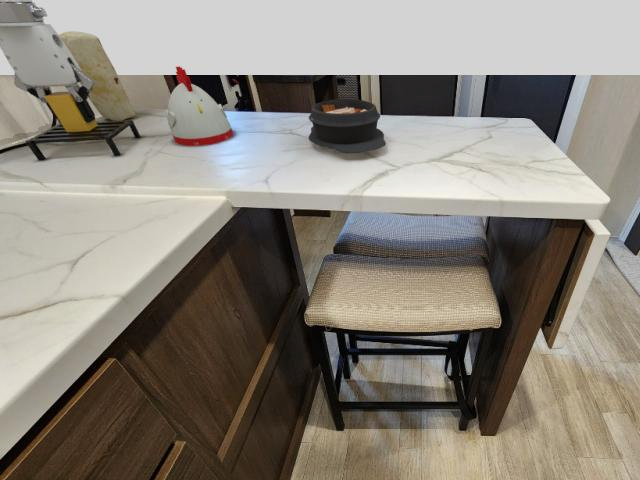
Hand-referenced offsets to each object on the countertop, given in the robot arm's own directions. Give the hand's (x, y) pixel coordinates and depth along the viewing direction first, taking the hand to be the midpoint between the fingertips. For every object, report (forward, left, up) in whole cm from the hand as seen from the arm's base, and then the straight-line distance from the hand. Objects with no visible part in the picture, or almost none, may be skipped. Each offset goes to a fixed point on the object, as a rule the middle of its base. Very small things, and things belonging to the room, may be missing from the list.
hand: (77, 120), depth 75 cm
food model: (-4, +26, -6) cm, 27 cm away
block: (0, 0, -2) cm, 2 cm away
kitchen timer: (+24, +4, -6) cm, 25 cm away
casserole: (+60, -8, -6) cm, 61 cm away
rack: (0, 0, -6) cm, 6 cm away
